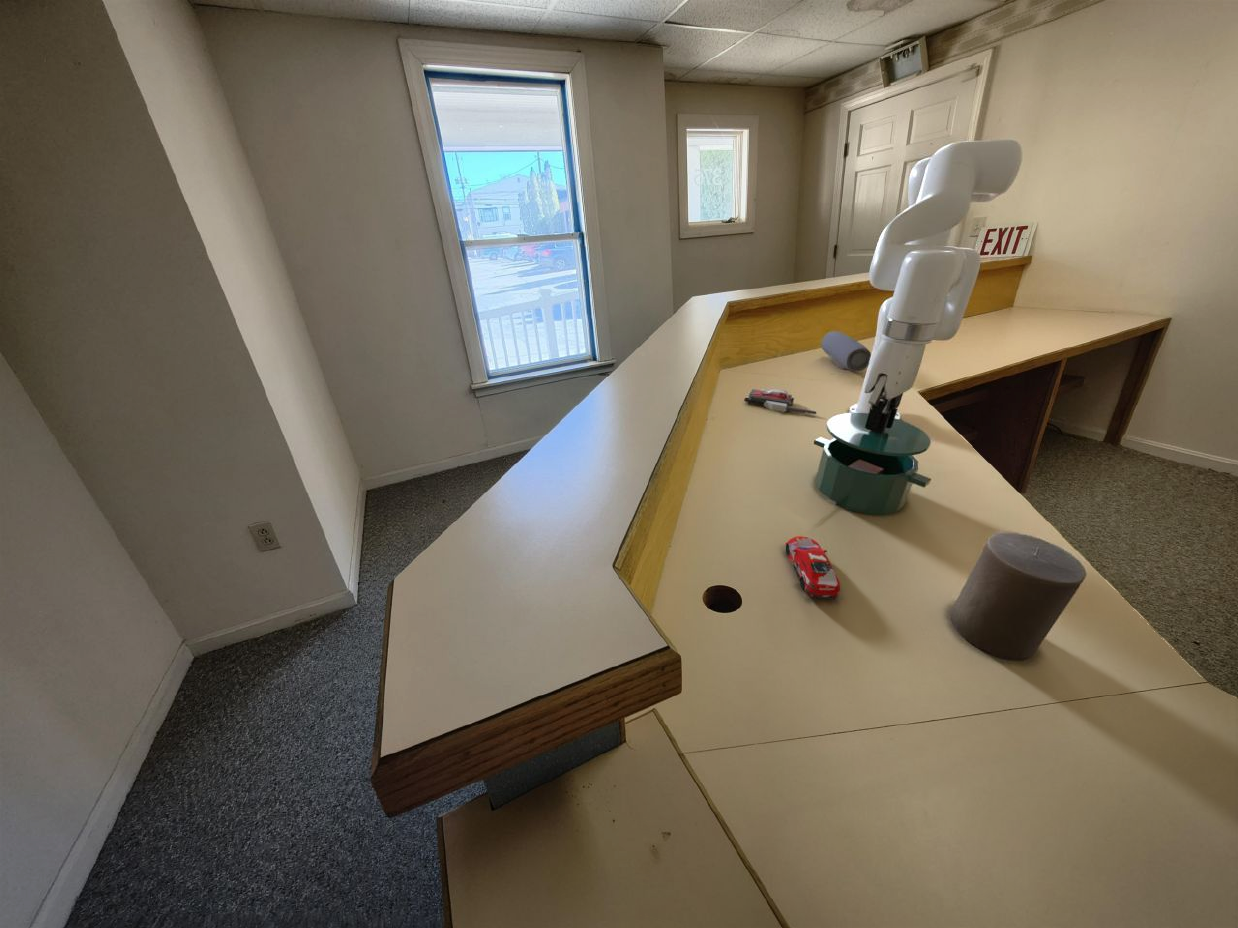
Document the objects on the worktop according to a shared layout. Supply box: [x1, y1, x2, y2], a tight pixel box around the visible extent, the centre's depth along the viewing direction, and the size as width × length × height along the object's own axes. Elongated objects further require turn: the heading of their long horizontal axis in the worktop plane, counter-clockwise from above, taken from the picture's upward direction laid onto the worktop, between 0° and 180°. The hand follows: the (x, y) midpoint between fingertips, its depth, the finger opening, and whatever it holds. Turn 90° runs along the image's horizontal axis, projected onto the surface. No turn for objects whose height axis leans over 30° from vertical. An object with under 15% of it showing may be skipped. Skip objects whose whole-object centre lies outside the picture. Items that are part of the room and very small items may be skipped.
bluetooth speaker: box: [820, 330, 872, 373], centre depth 162 cm, size 23×9×10 cm, turn 179°
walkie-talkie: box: [743, 388, 817, 415], centre depth 130 cm, size 9×4×20 cm
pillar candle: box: [950, 531, 1087, 661], centre depth 59 cm, size 10×10×15 cm
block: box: [849, 459, 884, 475], centre depth 92 cm, size 5×5×5 cm
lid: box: [826, 409, 931, 456], centre depth 86 cm, size 18×18×6 cm
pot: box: [813, 436, 932, 516], centre depth 91 cm, size 17×22×8 cm
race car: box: [785, 535, 841, 600], centre depth 72 cm, size 13×5×4 cm, turn 177°
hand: (878, 427), depth 86 cm, fingers closed on lid, 2 cm apart
